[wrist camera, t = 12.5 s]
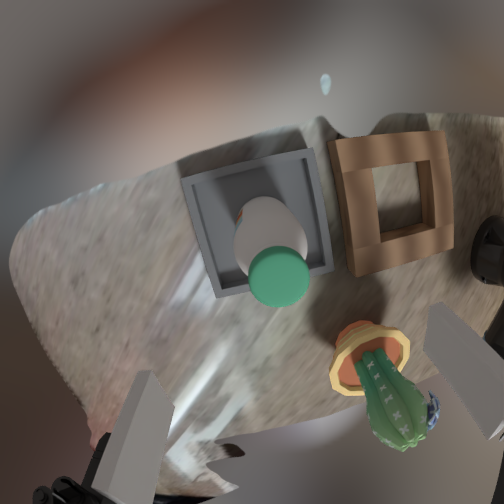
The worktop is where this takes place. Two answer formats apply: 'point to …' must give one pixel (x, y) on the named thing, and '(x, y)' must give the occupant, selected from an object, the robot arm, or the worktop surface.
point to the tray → (243, 190)
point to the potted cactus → (382, 383)
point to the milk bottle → (271, 251)
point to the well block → (365, 207)
